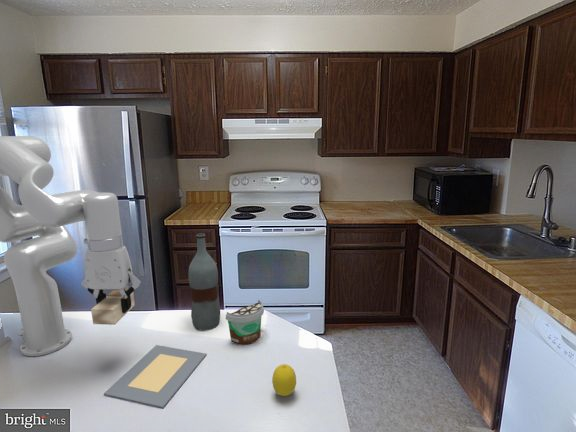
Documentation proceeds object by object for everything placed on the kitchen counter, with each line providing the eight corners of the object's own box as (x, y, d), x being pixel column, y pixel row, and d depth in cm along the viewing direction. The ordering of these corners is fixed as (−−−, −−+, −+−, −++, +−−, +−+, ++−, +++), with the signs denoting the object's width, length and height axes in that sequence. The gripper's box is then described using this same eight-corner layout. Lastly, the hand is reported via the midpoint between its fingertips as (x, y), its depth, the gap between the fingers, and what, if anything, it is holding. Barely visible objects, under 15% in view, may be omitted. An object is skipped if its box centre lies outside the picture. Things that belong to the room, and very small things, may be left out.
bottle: (213, 333, 107) (207, 239, 100) (186, 329, 109) (178, 238, 102) (225, 317, 116) (220, 231, 109) (200, 314, 118) (194, 229, 111)
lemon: (277, 406, 78) (277, 375, 76) (269, 390, 83) (268, 361, 81) (300, 399, 80) (300, 369, 78) (290, 384, 85) (290, 355, 83)
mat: (103, 395, 82) (103, 393, 82) (156, 346, 101) (156, 344, 100) (163, 408, 78) (163, 406, 78) (206, 355, 96) (206, 353, 96)
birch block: (93, 324, 85) (90, 308, 84) (115, 304, 95) (113, 290, 94) (115, 324, 85) (113, 308, 84) (134, 305, 95) (133, 290, 94)
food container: (238, 353, 97) (237, 320, 95) (226, 343, 102) (225, 312, 100) (272, 336, 105) (272, 306, 103) (260, 328, 110) (259, 299, 107)
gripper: (61, 247, 82) (73, 317, 86) (132, 248, 82) (140, 318, 86) (81, 238, 90) (91, 303, 94) (146, 238, 89) (153, 304, 93)
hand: (114, 309), depth 90 cm, fingers closed on birch block, 5 cm apart
